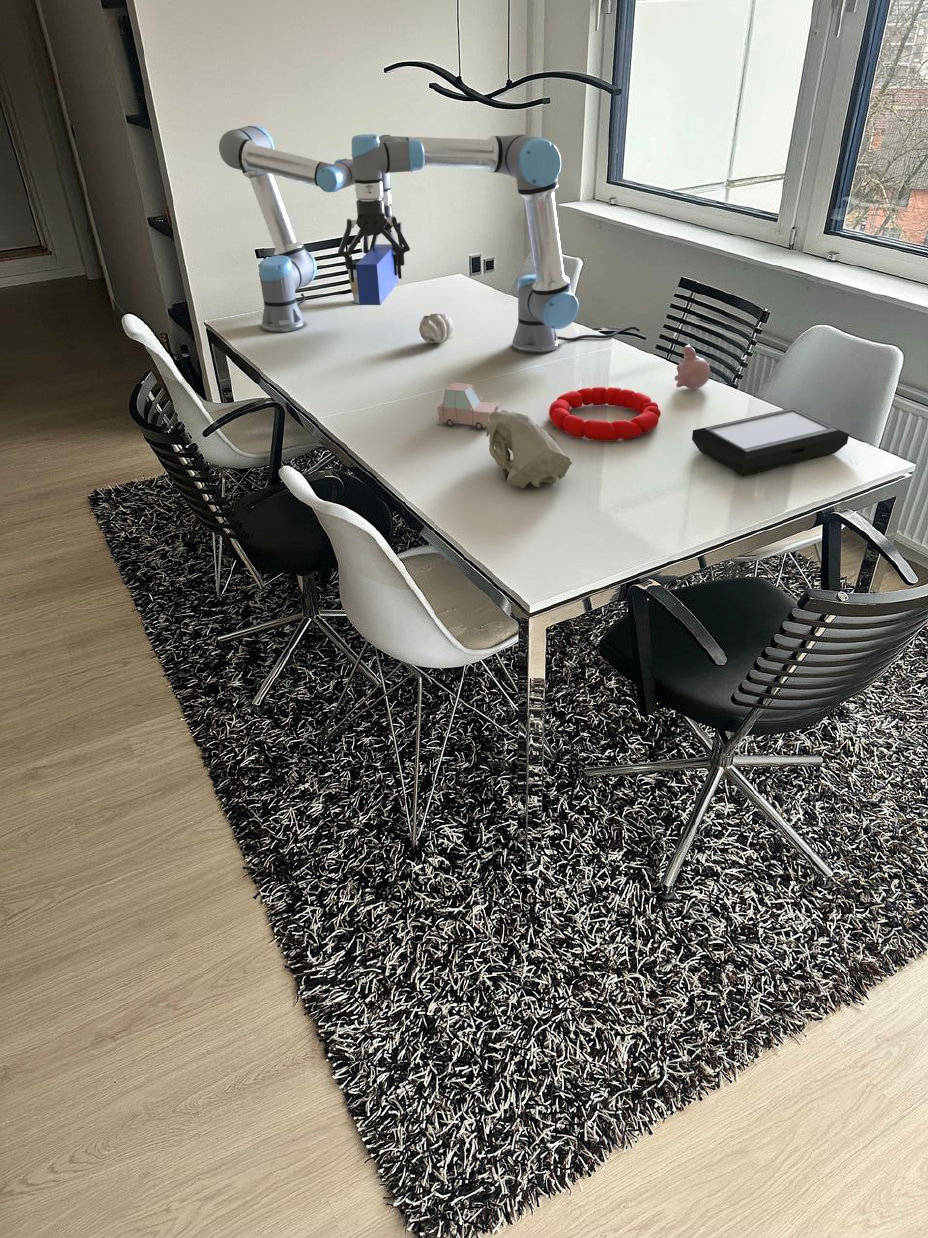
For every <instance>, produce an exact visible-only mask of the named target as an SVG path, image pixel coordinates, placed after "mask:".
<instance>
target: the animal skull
mask: <svg viewBox="0 0 928 1238" xmlns="http://www.w3.org/2000/svg"><path fill="white" fill-rule="evenodd" d="M485 436H486V438H487V437H489V438H488V440H489V444H488V445H489V446H488V450H489V454H490V456H491V457H492V458H493V459H494V460H495V462H496V464H497V466H499V468H500V470H501V471H502V472H501V478H502V479H507V480H506V484H507V486H517V487H518V486H519V488H523V489H524V488H526V486H527V485H529V483H531V485H533V486H534V487H536V488H540V485H541V484H542V482H544V483H549V484H550V485H553V484H555V483H556V482H557V480H561V479H563V478H565V476H566V474H567V472H568V471H569V469H570V467H571V466H572V464H573V462H572V461H571V458H570V457H568V456H567V455H565V453H564V451H562V449H561V448H560V446H559V444H557V443H556V439H555V438H554V436H553V435H551V434H550V433H548V432H547V431H546V430H545V429H544V428H542V427H541V426H539V425H538V424H537V423H536V424H535V422H534V421H533V419H532V418H531V417H530V416H529V415H527V414H524V413H519V412H515V411H509V410H507V409H502V410H500V411H499V410H497V411H496V412H492V413H491V414H490V422H488V423H487V427H486V435H485ZM511 453H512V454H511ZM511 455H512V457H513V458H512V460H511ZM507 474H508V475H507Z"/></svg>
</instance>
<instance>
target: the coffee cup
mask: <svg viewBox="0 0 928 1238" xmlns="http://www.w3.org/2000/svg"><path fill="white" fill-rule="evenodd" d="M361 259H362V258H355V259H352V263H353V273H354V282H351V275H350V270H347V273H348V279H349V285H350V289H351V293H352V298H353V302H354V303H355V304H359V295H358V284H357V273H356V264H357V263H358V262H359V261H360V260H361Z"/></svg>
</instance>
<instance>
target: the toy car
mask: <svg viewBox="0 0 928 1238" xmlns="http://www.w3.org/2000/svg"><path fill="white" fill-rule="evenodd" d="M498 409H499V404H498V403H497V402H490V401H489V402H487V401H483V397H481V396H480V395H479V394H478V393H477V391H476V390H475V389H474V386H472V384H469V383H459V382H451V383H450V384H449V385H448V386H447V387H446V388H445V389H444V394H443V399H442V403H440V404H439V405H438V406H437V413H438V421H439V422H443V423H446V425H447V426H448V427H452V426H454V425H455V424H461V425H469V426H473V427H475V429H476V430H479V431H480V430H481V429H483V428H485V427H486V428H487V423H488V422H490V414H491V413H492V412H496V411H499V410H498Z"/></svg>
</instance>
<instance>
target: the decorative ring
mask: <svg viewBox="0 0 928 1238" xmlns="http://www.w3.org/2000/svg"><path fill="white" fill-rule="evenodd" d="M583 405H584V406H586V407H587V406H591V405H593V406H604V405H608V406H614V407H619V408H624V409H628V410H632V411H635V412H636V413H638V414H639V415H637V416H635V417H632V418H631V419H630V420H625V419H624V420H623V419H622V420H614V421H611V422H609V421H607V420H606V421H605V420H593V419H587V420H586V421H585V419H584V418H582V417H579V416H577V415H573V414H571V413H570V410H571V409H579V408H581V407H582V406H583ZM548 416H549V419H550V422H551V423H552V425H553V426H554V427H555V428H556V429H558V430H559V431H561V432H563V433H567V434H568V435H569V436H573V437H576V438H580V439H582V438H583V437H585V438H586V439H587V440H591V441H601V442H602V441H603V442H608V441H609V442H610V441H611V442H612V441H615V442H616V441H618V440H630V439H634V438H638V437H641V436H642V434H647V433H650V432H651V431H653V430H654V429H655V428H656V427H657V426H658V424H659V422H660V421H659V420H660V417H661V410H660V408H659V405H658V403H657V402H656V401H652V399H651V397H649V396H648V395H646V394H644V393H642V392H635V391H634V390H632V389H628V388H624V389H622V388H620V387H613V386H612V387H611V386H610V387H608V388H606V387H604V386H594V387H585V388H584V387H583V388H580V389H578V390H571V391H568V392H565V393H563V394H561V395H560V396H558V397H557V398H556V400H554V401H552V403H551V404H550V407H549V409H548Z"/></svg>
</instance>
